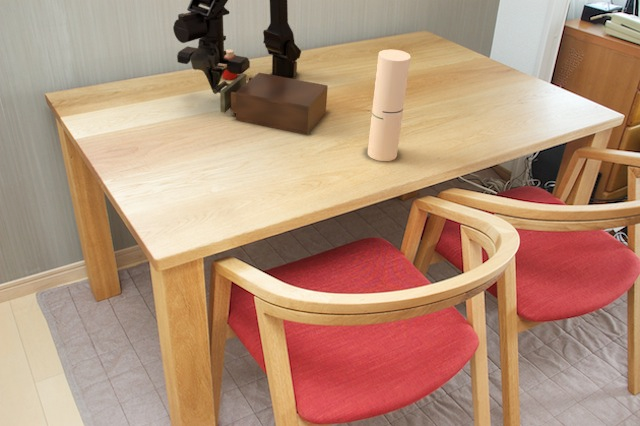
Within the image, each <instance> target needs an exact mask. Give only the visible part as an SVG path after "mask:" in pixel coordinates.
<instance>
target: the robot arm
mask: <svg viewBox="0 0 640 426" xmlns="http://www.w3.org/2000/svg"><path fill="white" fill-rule="evenodd" d="M228 1H229V0H190V2H189V4H188V6H187V9H186V10H187V11H188V12H186V13H178V14H177V19H176V20H175V21H174V23H173V27H172V28H173V29H172V30H173V34H174V36H175V38H176V40H177V41H179V42H180V43H181V44H186V43H189V42H193V41H196V40H198V45H197V47H194V46H185V47H184V48H182V49H180V50H179V51H178V52H177V54H176V61H177V63H179V64H184V65H188V64H189V63H191V67H192V69H193V70H195V71H197V70H198V71H201V72H202V73H204V75H205V77H206V80H207V81H208V83H209V86H210V89H211V91H212V92H213V89H214V88H215V87H217V86H218V85H219V84H220V82H221V80H222V78H223V77H222V75H223V73H224V71H225V70H228V71H229V72H230V73H234V74H237V75H241V74H244V73H245V72H246V71H247V70H248V69H250V67H251V62H250V60H249V58H248V57H247V56H241V55H236V54H235V56H234V57H233V58H231V59H229V58H224V56H225V55H226V51H225V41H226V40H227V36H226V35H225V34H224V16H226V15H229V14H230V13H231V12H230V11H229V10H228V9H227V8H226V7H225V6H226V4H227V3H228ZM200 5H201V6H200ZM205 7H206V8H205ZM288 9H289V8H288V0H269V20H270V21H269V22H270V23H269V25H268V26H267V28H266V29H264V30H263V32H262V34H263V44H264V47H265V49H266V50H267V54H268V55H271V57H272V61H271V68H272V69H271V74H270V75H275V76H280V77H286V78H291V79H294V78H295V77H296V75H298V72H297V71H298V62H297V61H298V59H300V58H301V54H302V50H301V49H300V48H299V46H298V45H297V44H296V43H295V36H294V31H293V29H292V28H291V26H290V24H289V17H288V16H289V13H288V12H289V11H288Z"/></svg>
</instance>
